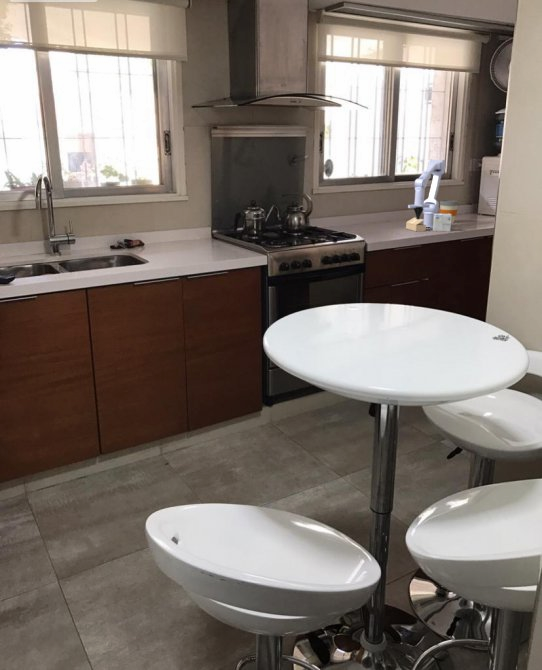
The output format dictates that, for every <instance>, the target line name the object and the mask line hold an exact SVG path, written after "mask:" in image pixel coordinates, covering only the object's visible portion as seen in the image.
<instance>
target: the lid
mask: <svg viewBox="0 0 542 670" xmlns="http://www.w3.org/2000/svg"><path fill="white" fill-rule="evenodd" d="M423 222H424V218H423V219H422V218H419V219H416V216H414V217H413V218H411V219H409V220H407V221H406V223H409V224H413V225H418V224H419V223H420V224H422V223H423ZM406 223H405V224H406Z"/></svg>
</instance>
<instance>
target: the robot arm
mask: <svg viewBox="0 0 542 670" xmlns="http://www.w3.org/2000/svg"><path fill="white" fill-rule="evenodd" d="M445 171H446V161H445V159H430V160H429V161H428V167H427V169H426V171H423V172H422V174H421V175H420V176H419V177H418V178H416V179H415V180H414V191H415V193H414V204H408V205H407V208H408V209H413V210H414V213H415V218H416V219H419V218H420V217H421V214H423V219H424V221H423V222H422V224H424V225H426V227H430V228H431V229H433V217H434V214H438V212H439V210H440V208H439V207H440V206H439V205H440V203H439V201H438V200H437V195H438V193H439V189H440V183H441V178H442V176H443V174H444V173H445ZM431 174H432V175H431ZM432 176H433V177H432ZM431 177H432V182H431V185H430V189H429V193H428V198H426V199H425V193H426V192H425V191H426V190H425V189H426V187H427V186H428V182H429V180H430V179H431ZM420 219H421V218H420Z"/></svg>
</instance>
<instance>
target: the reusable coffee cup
mask: <svg viewBox="0 0 542 670" xmlns="http://www.w3.org/2000/svg"><path fill="white" fill-rule="evenodd" d="M439 205H440V206H439V207H440V208H439V214H451V222H454V223H455V220H456V216H457V213H458V206H459V201H458V200H453V199H449V200H448V199H444V200H440V203H439Z"/></svg>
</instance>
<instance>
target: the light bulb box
mask: <svg viewBox="0 0 542 670" xmlns="http://www.w3.org/2000/svg"><path fill="white" fill-rule="evenodd" d="M451 227H452V223H451V214H440V213H436V214H434V217H433V228H432V231H433V232H451Z"/></svg>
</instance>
